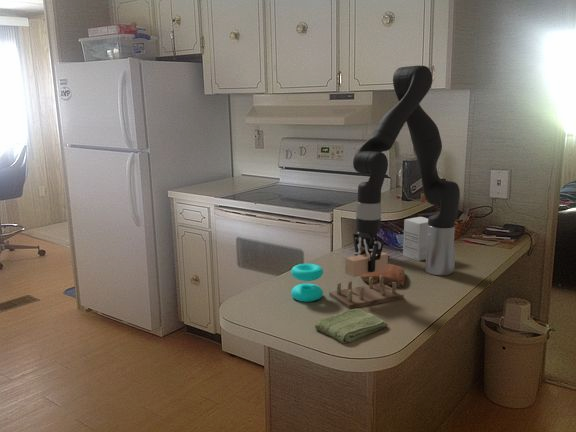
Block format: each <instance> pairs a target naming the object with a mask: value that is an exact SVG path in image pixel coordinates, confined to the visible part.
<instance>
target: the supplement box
mask: <svg viewBox="0 0 576 432" xmlns="http://www.w3.org/2000/svg"><path fill="white" fill-rule="evenodd" d="M403 222H404V223H403V227H404V228H403V246H402V256H403V257H405V258H409V259H412V260H415V261H417V262H420V261H424V260H425V261H426V251H427V233H428V218H427V217H424V216H417V217H411V218H406V219H404V221H403Z"/></svg>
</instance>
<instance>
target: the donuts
mask: <svg viewBox="0 0 576 432" xmlns="http://www.w3.org/2000/svg"><path fill="white" fill-rule="evenodd" d="M323 270H324V269H323V268H322V267H321V266H320V265H318V264H315V263H299V264H296V265H294V266H293V267H292V268H291V270H290V271H291V276H292V277H293V278H294V279H297V281H301V282H302V281H303V282H307V283H299V284H297V285H295V286H293V288H292V289H291V292H290V293H291V296H292V298H293V299H294V300H297V301H299V302H303V303H304V302H307V303H308V302H315V301H318V300H320V299H321V298H322V297H323V294H324V292H323V289H322V288H321V287H320V286H319V285H318V284H313V283H309V282H311V281H312V282H313V281H316V280H319V279H320V278H322V276H323V274H324V271H323Z"/></svg>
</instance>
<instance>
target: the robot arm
mask: <svg viewBox="0 0 576 432" xmlns="http://www.w3.org/2000/svg"><path fill="white" fill-rule="evenodd" d="M432 84H433V74H432V70H431V69H430V67H428V66H427V65H410V66H402V67H398V68H397V69H396V70H395V71H394V72H393V76H392V85H393V88H394V93H395V95H396V98H397V100H398V102H397V103H396V104H395V105H394V106H393V107H392V108H390V109H389V110H388V111H387V112H386V113H385V114H383V116H382V117H381V118H380V120H379V122H378V123H377V125H376V127H375V129H374V131H373V132H372V134H371V136H370V137H369V138H368V139H367V140H366V141H364V143H363V144H362V145H361V147H359V148H358V150H357V151H356V153H355V154H354V156H353V161H352V164H353V165H352V166H353V169H354V170H355V171H356V172H357V173H359V174H362V175H369V178H368V180H367V181H363V182H360V183H359V184H358V187H357V203H356V209H355V210H356V212H355V232H356V233H353V234H352V235H353V236H352V239H353V245H354V252H355V253H357V256H358V255H362V254H366V253H367V255H368V272H374V271H375V261H376V260H380V257H381V253H382V252H383V248H384V242H382V241H381V242H380V241H378V238H379V237H378V234H379V233H380V232H381V225H382V203H381V202H382V201H381V199H382V188H383V185H384V182H385V178H386V175H387V172H388V167H389V160H388V157H387V156H386V154H385V153H384V152H387V151H389V150H391V149H392V148H393V146H394V144H395V142H396V140H397V138H398V137H399V134H400V132H401V130H402V128H403V127H404V126H405V124H406V126H407V128H408V131H409V132H408V133H409V134H410V135H409V136H410V140H411V144H412V147H413V150H414V153H415V157H416V159H417V163H418V168H419V173H420V177H421V178H420V179H421V184H422V190H423V195H424V198H425V200H426V202H427V203H428V204H430V205H432V206H435V207H436V206H437V207H439V213H437V214H433V215H430V216H428V218H427V219H428V233H427V251H426V259H425V269H424V270H425V272H426V273H427V274H430V275H436V276H448V275H451V274H452V273H454V272H455V263H456V251H457V250H456V246H455V245H454V244H455V243H454V241H455V230H456V229H455V228H456V222H457V218H458V213H459V206H460V196H461V191H460V190H461V189H460V186H459V185H458V183H456V182H454V181H450V180H445V179H441V178H440V176H439V173H438V167H437V164H438V162H439V158H440V156H441V153H442V149H443V142H442V138H441V135H440V131H439V127H438V126H437V124H436V123H435V121H434V120H433V119H432V118H431V117H430V116H429V115H428V113H427V112H426V111H425V109H424V108H422V106H421V102H422V101H423V99H424V98H425V97H426V96H427V94H428V93H429V91H430V90H431V88H432ZM358 232H359V233H358ZM369 249H373V250H369ZM363 250H364V251H363ZM371 253H372V257H371ZM376 254H377V256H376Z"/></svg>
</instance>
